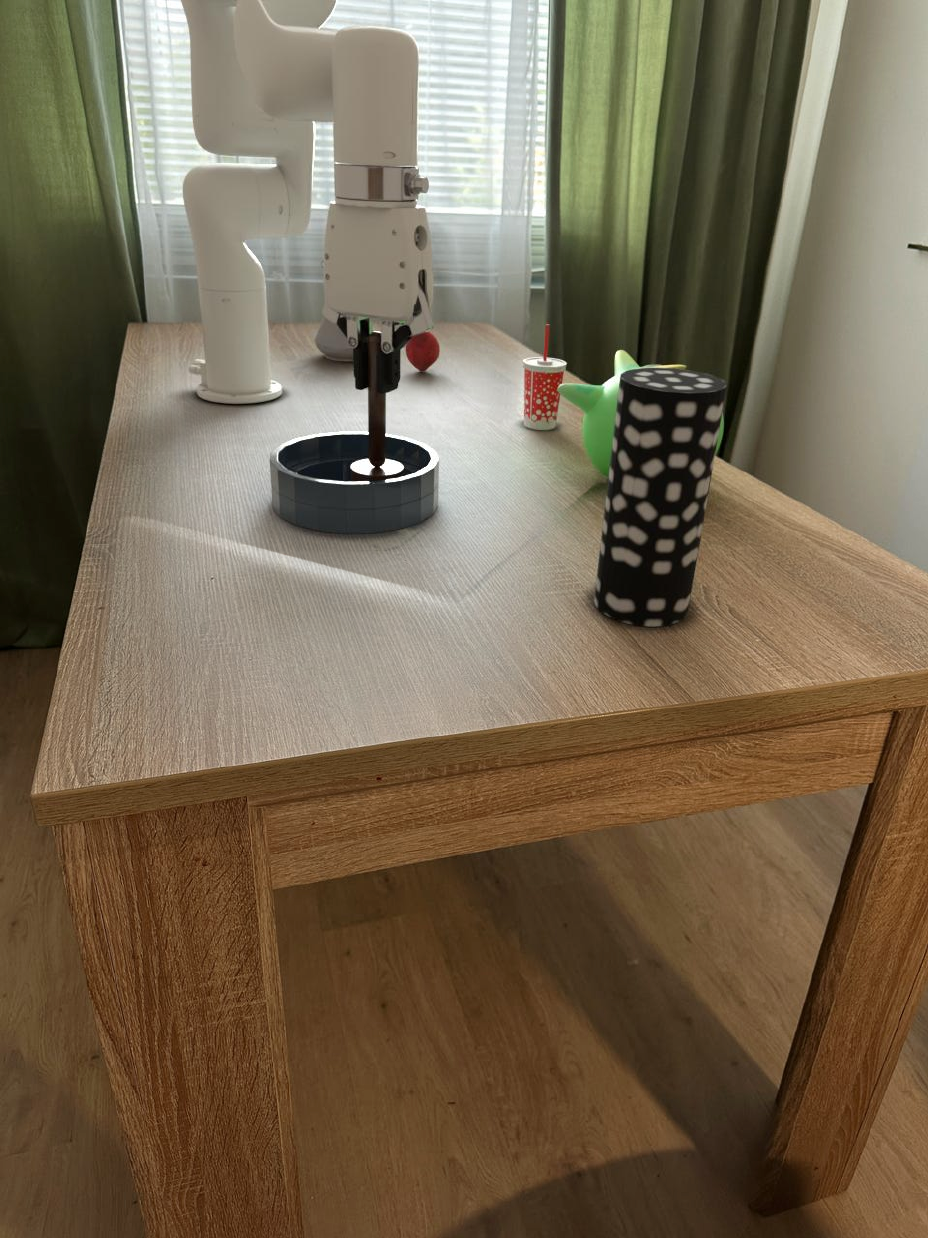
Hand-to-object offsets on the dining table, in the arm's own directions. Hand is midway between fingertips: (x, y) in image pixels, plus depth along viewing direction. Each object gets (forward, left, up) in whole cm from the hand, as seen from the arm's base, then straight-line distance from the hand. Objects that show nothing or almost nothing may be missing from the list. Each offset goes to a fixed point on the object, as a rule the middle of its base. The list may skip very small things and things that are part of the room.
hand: (376, 387), depth 93 cm
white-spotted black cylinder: (+31, -6, -14) cm, 35 cm away
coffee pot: (-49, +66, -14) cm, 83 cm away
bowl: (-3, 0, -14) cm, 14 cm away
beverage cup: (+1, +42, -14) cm, 44 cm away
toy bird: (+21, +26, -14) cm, 36 cm away
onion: (-29, +61, -14) cm, 69 cm away
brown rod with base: (0, 0, -11) cm, 11 cm away
